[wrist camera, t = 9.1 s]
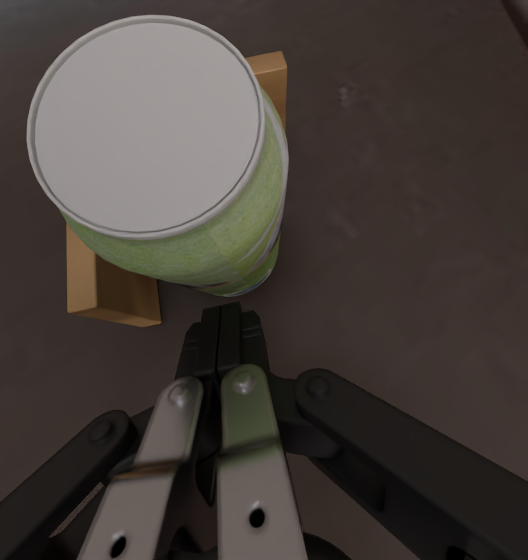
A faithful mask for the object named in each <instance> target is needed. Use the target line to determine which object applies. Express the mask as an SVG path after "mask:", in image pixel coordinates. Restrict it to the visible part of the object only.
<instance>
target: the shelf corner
mask: <svg viewBox="0 0 528 560" xmlns="http://www.w3.org/2000/svg"><path fill="white" fill-rule="evenodd" d="M245 60H246V61H247V62H248V64H249V65H250V67H251V69H252V71H253V73H254V75H255V77H256V79H257V81H258V83H259V85H260V86H261V87H262V88H263V90H264V91H265V92H266V94H267V95H268V96H269V97H270V99H271V101H272V103H273V105H274V107H275V109H276V110H277V112H278V114H279V116H280V119H281V122H282V125H283V128H284V132H285V113H286V83H287V66H286V62H285V59H284V56H283V53H282V51H277V52H272V53H267V54H263V55H258V56H253V57H249V58H245ZM66 228H67V311H68V313H70V314H75V315H81V316H86V317H91V318H97V319H102V320H107V321H113V322H118V323H123V324H129V325H134V326H139V327H147V326H151V325H156V324H160V323H161V316H160V306H159V297H158V288H157V279H156V278H152V277H149V276H145V275H142V274H138V273H134V272H131V271H127V270H125V269H123V268H120V267H118V266H116V265H114V264H112V263H110V262H108V261H106V260H104V259H103V258H102V257H100V256H99V255H98V254H96V253H95V252H94V251H92V250H91V249H90V248H88V247H87V246H86V245H85V244H84V243H83V242H82V241H81V239H80V238H79V237H78V236H77V235H76V234H75V233H74V232H73V231H72V229H71V228H70V226H69V225H68V223H67V221H66Z"/></svg>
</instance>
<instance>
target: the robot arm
mask: <svg viewBox="0 0 528 560" xmlns="http://www.w3.org/2000/svg"><path fill="white" fill-rule="evenodd" d="M285 452H287V453H293V454H299V455H305V456H307V457H308V458H309V460H310V461H311V462H312V463H313V464H314V465H315V466H317V467H318V468H319V469H320V470H321V471H322V472H323V473H324V474H325V475H327V476H328V477H329V478H330V479H331V480H332V481H333V482H334V483H336V484H337V485H338V486H339V487H340V488H341V489H342V490H343V491H345V492H346V493H347V494H348V495H349V496H350V497H351V498H352V499H353V500H355V501H356V502H357V503H358V504H359V505H360V506H361V507H362V508H364V509H365V510H366V511H367V512H368V513H369V514H370V515H371V516H373V517H374V518H375V519H376V520H377V521H378V522H379V523H380V524H381V525H383V526H384V527H385V528H386V529H387V530H388V531H389V532H390V533H392V534H393V535H394V536H395V537H396V538H397V539H398V540H399V541H401V542H402V543H403V544H404V545H405V546H406V547H407V548H408V549H409V550H411V551H412V552H413V553H414V554H415V555H416V556H417V557H418V558H420V559H421V560H528V481H526V480H524V479H522V478H521V477H519V476H517V475H515V474H513V473H512V472H510V471H508V470H506V469H505V468H503V467H501V466H499V465H497V464H496V463H494V462H492V461H490V460H488V459H487V458H485V457H483V456H481V455H480V454H478V453H476V452H474V451H472V450H471V449H469V448H467V447H465V446H463V445H462V444H460V443H458V442H456V441H455V440H453V439H451V438H449V437H447V436H446V435H444V434H442V433H440V432H439V431H437V430H435V429H433V428H431V427H430V426H428V425H426V424H424V423H422V422H421V421H419V420H417V419H415V418H414V417H412V416H410V415H408V414H406V413H405V412H403V411H401V410H399V409H397V408H396V407H394V406H392V405H390V404H389V403H387V402H385V401H383V400H381V399H380V398H378V397H376V396H374V395H373V394H371V393H369V392H367V391H365V390H364V389H362V388H360V387H358V386H356V385H355V384H353V383H351V382H349V381H348V380H346V379H344V378H342V377H340V376H339V375H337V374H335V373H333V372H331V371H329V370H326V369H321V368H316V369H310V370H307V371H305V372H303V373H302V374H300V375H299V376H298V377H297V379H296V380H295V379H284V378H280V377H278V376H275V375H274V374H272V373H271V372H270V368H269V361H268V355H267V348H266V343H265V338H264V334H263V330H262V326H261V322H260V318H259V316H258V315H257V314H256V313H255V312H254V311H249V312H244V313H243V312H242V308H241V305H240V302H234V303H229V304H225V305H222V306H221V305H220V306H216V307H211V308H206V309H204V310H203V314H202V319H201V322H197V323H193V324H192V326H191V327H190V328H189V330H188V331H187V332H186V336H185V340H184V344H183V348H182V352H181V356H180V360H179V364H178V367H177V371H176V375H175V379H174V381H173V382H171V383H170V384H169V385H167V386H166V387H165V388H164V389H163V390H162V392H161V393H160V395H159V397H158V399H157V402H156V405H154V406H153V407H151V408H149V409H147V410H145V411H143V412H141V413H139V414H137V415H135V416H133V417H131V418H129V416H128V415H127V413H126V412H124V411H122V410H112V411H108V412H106V413H104V414H102V415H100V416H98V417H97V418H95V419H94V420H93V421H92V422H90V423H89V424H88V425H87V426H86V427H85V428H84V429H83V430H81V431H80V432H79V433H78V434H77V435H76V436H75V437H73V438H72V439H71V440H70V441H69V442H68V443H67V444H66V445H64V446H63V447H62V448H61V449H60V450H59V451H58V452H57V453H55V454H54V455H53V456H52V457H51V458H50V459H49V460H48V461H46V462H45V463H44V464H43V465H42V466H41V467H40V468H38V469H37V470H36V471H35V472H34V473H33V474H32V475H31V476H29V477H28V478H27V479H26V480H25V481H24V482H23V483H22V484H20V485H19V486H18V487H17V488H16V489H15V490H14V491H13V492H11V493H10V494H9V495H8V496H7V497H6V498H5V499H3V500H2V501H1V502H0V560H351V559H350V558H349V557H348V556H347V555H346V554H345V553H343V552H342V551H341V550H340V549H338V548H337V547H335V546H334V545H333V544H331V543H330V542H328V541H326V540H324V539H322V538H320V537H318V536H315V535H312V534H309V533H305V532H304V528H303V523H302V519H301V515H300V511H299V507H298V503H297V499H296V495H295V491H294V487H293V482H292V478H291V474H290V470H289V465H288V461H287V457H286V453H285ZM99 482H101V483H102V484H103V485H104V486H103V487H102V489H101V490H100V491H99V492H98V493H97V494H96V495H95V496H94V497H93V498H92V500H91V501H90V502H89V503H88V504H87V505H86V506H85V507H84V508H83V509H82V510H81V512H80V513H79V514H78V515H77V516H76V517H75V518H74V519H73V520H72V521H71V523H70V524H69V525H68V526H67V527H66V528H65V529H64V530H63V531H62V532H60V533H59V534H57V535H56V536H54V537H50V538H48V537H49V536H50V535H51V534H52V532H53V531H54V530H55V529H56V528H57V527H58V526H59V525H60V524H61V523H62V522H63V521H64V520H65V519H66V517H67V516H68V515H69V514H70V513H71V512H72V511H73V510H74V509H75V508H76V507H77V506H78V505H79V504H80V502H81V501H82V500H83V499H84V498H85V497H86V496H87V495H88V494H89V493H90V492H91V491H92V490H93V489H94V487H95V486H96V485H97V484H98V483H99Z"/></svg>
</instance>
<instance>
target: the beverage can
mask: <svg viewBox="0 0 528 560" xmlns="http://www.w3.org/2000/svg"><path fill="white" fill-rule="evenodd" d="M27 146H28V152H29V158H30V162H31V165H32V167H33V170H34V173H35V175H36V178H37V180H38V181H39V183H40V185H41V186H42V188H43V190H44V191H45V193H46V195H47V196H48V197H49V198H50V199H51V200H52V201H53V202H54V203H55V205H56V206H57V207H58V208H59V210H60V212H61V213H62V215H63V217H64V218H65V220H66V221H67V223H68V225H69V226H70V228H71V229H72V231H73V232H74V233H75V234H76V235H77V236H78V237H79V238H80V239H81V241H82V242H83V243H84V244H85V245H86V246H87V247H88V248H90V249H91V250H92V251H94V252H95V253H96V254H98V255H99V256H100V257H102V258H103V259H104V260H106V261H108V262H110V263H112V264H114V265H116V266H118V267H120V268H123V269H125V270H127V271H131V272H134V273H138V274H142V275H145V276H149V277H152V278H156V279H160V280H163V281H167V282H170V283H174V284H178V285H181V286H185V287H188V288H192V289H195V290H199V291H203V292H206V293H210V294H213V295H217V296H225V297H230V296H238V295H242V294H245V293H247V292H250V291H252V290H254V289H255V288H257V287H258V286H259V285H261V284H262V283H263V282H264V281H265V280H266V279H267V277H268V276H269V275H270V273H271V272H272V270H273V268H274V266H275V264H276V260H277V256H278V249H279V241H280V233H281V225H282V217H283V209H284V201H285V193H286V185H287V175H288V164H289V157H288V147H287V139H286V135H285V132H284V128H283V125H282V122H281V119H280V116H279V114H278V112H277V110H276V109H275V107H274V105H273V103H272V101H271V99H270V97H269V96H268V95H267V94H266V92H265V91H264V90H263V88H262V87H261V86H260V85H259V83H258V81H257V79H256V77H255V75H254V73H253V71H252V69H251V67H250V65H249V64H248V62H247V61H246V60H245V58H244V57H243V56H242V54H241V53H240V52H239V51H238V49H236V48H235V47H234V46H233V45H232V44H231V43H230V42H229V41H227V40H226V39H225V38H224V37H223V36H221V35H219V34H218V33H216V32H215V31H213V30H211V29H210V28H208V27H206V26H203V25H201V24H198V23H196V22H193V21H191V20H187V19H183V18H178V17H173V16H164V15H144V16H134V17H128V18H125V19H121V20H117V21H113V22H110V23H108V24H106V25H103V26H101V27H99V28H96V29H94V30H92V31H91V32H89V33H87V34H86V35H84V36H82V37H81V38H79V39H78V40H76V41H75V42H74V43H73V44H71V45H70V46H69V47H68V48H67V49H66V50H64V51H63V52H62V53H61V54H60V55H59V57H58V58H57V59H56V60H55V61H54V62H53V64H52V65H51V66H50V67H49V68H48V70H47V72H46V73H45V75H44V76H43V78H42V80H41V81H40V83H39V85H38V87H37V90H36V92H35V95H34V97H33V100H32V102H31V106H30V111H29V116H28V120H27Z"/></svg>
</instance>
